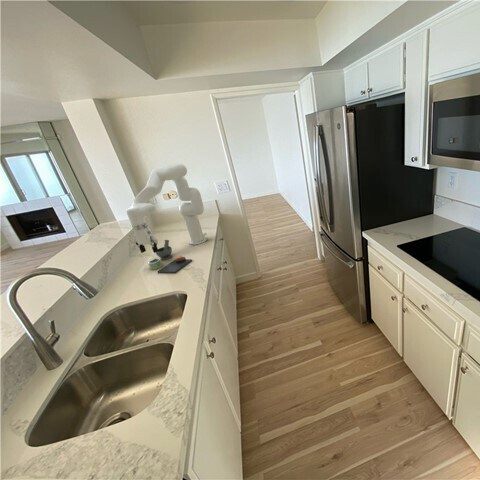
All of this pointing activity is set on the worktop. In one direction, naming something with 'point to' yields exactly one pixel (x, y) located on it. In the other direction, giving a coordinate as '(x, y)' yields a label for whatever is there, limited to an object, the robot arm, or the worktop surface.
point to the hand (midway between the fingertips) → (149, 251)
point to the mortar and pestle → (165, 251)
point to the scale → (175, 266)
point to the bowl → (155, 264)
